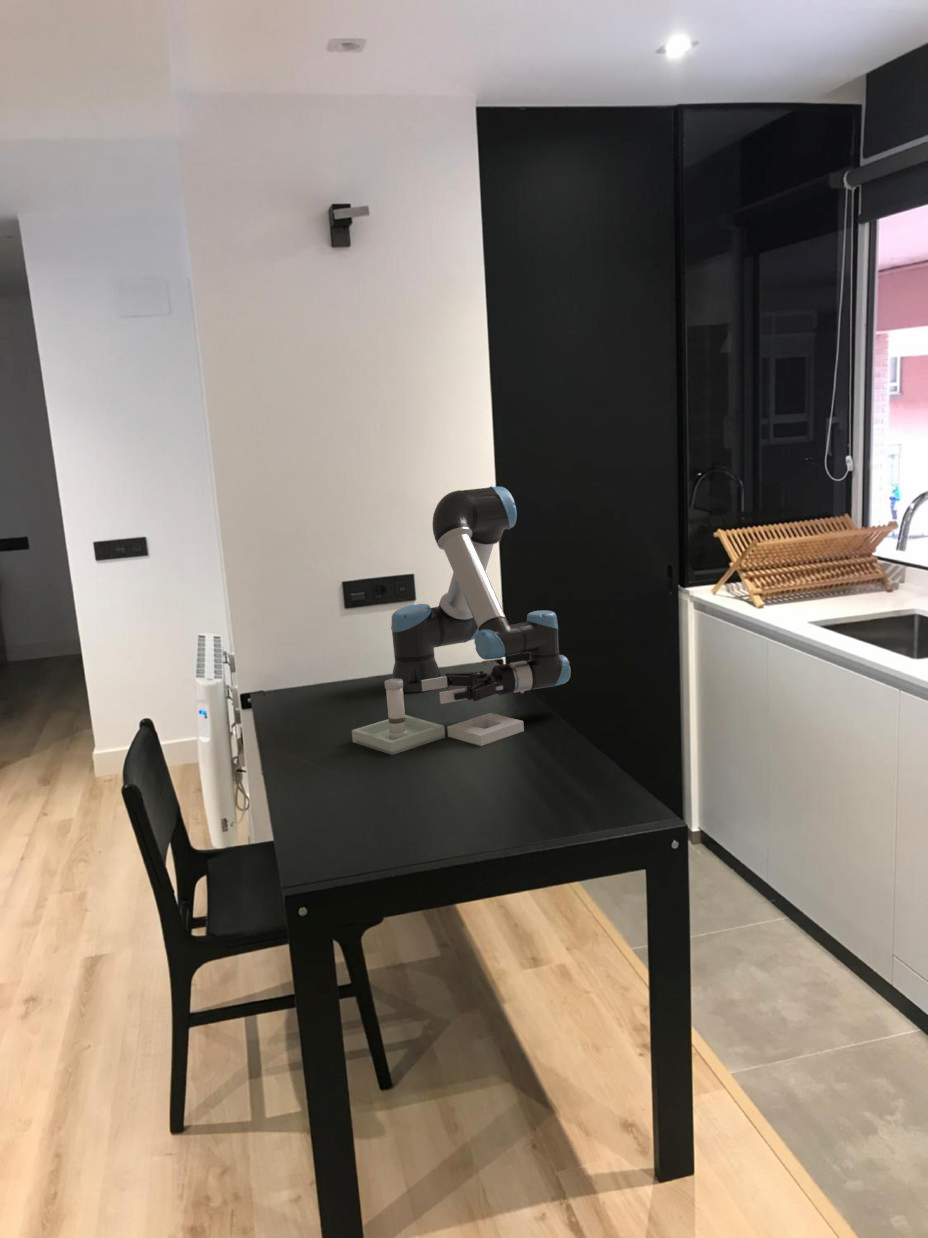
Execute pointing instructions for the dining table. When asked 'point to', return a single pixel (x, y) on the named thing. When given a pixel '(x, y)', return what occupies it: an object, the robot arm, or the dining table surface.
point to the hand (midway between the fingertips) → (430, 691)
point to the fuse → (395, 708)
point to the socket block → (485, 729)
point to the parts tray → (416, 736)
